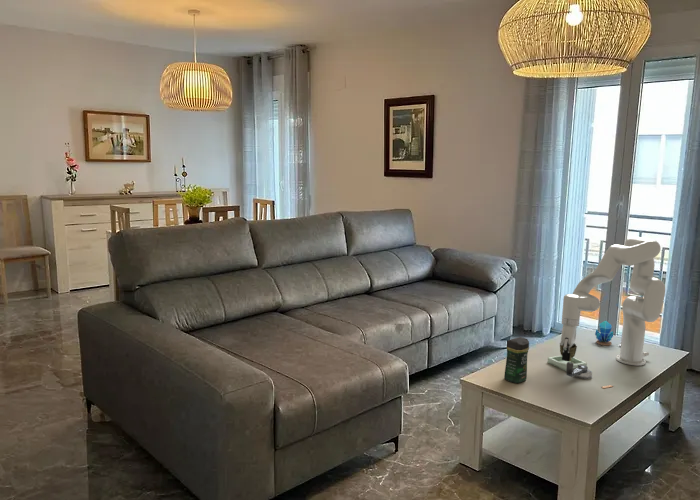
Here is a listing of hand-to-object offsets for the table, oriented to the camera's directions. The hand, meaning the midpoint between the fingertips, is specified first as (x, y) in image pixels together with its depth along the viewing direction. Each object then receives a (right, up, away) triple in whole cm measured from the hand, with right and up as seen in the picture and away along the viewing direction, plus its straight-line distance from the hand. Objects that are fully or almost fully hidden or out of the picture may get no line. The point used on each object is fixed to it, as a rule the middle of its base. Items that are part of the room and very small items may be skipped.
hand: (567, 357), depth 252 cm
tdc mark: (+7, -8, -24) cm, 26 cm away
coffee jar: (-29, -6, -17) cm, 35 cm away
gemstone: (+32, +1, +32) cm, 45 cm away
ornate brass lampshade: (0, -1, 0) cm, 1 cm away
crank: (-2, -4, -15) cm, 16 cm away
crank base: (+2, -5, -11) cm, 13 cm away
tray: (0, -3, +1) cm, 4 cm away
